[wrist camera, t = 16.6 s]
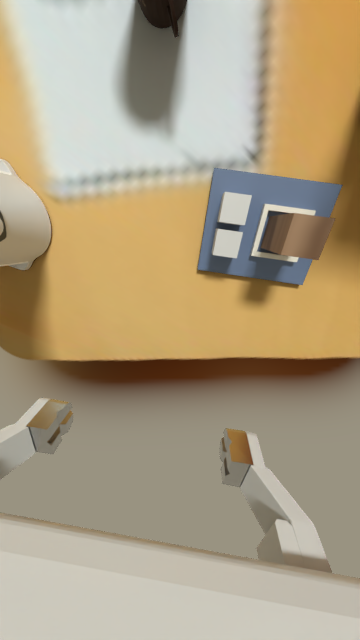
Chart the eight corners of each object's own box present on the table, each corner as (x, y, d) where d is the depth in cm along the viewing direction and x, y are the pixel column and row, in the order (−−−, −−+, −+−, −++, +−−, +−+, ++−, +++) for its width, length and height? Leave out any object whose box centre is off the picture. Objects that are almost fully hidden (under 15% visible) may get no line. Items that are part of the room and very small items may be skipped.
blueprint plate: (197, 268, 40) (197, 274, 35) (213, 169, 33) (216, 160, 28) (299, 283, 39) (313, 291, 34) (338, 186, 32) (361, 179, 28)
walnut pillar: (260, 247, 36) (280, 254, 27) (269, 216, 34) (294, 212, 25) (288, 251, 36) (318, 260, 27) (299, 220, 34) (335, 218, 25)
